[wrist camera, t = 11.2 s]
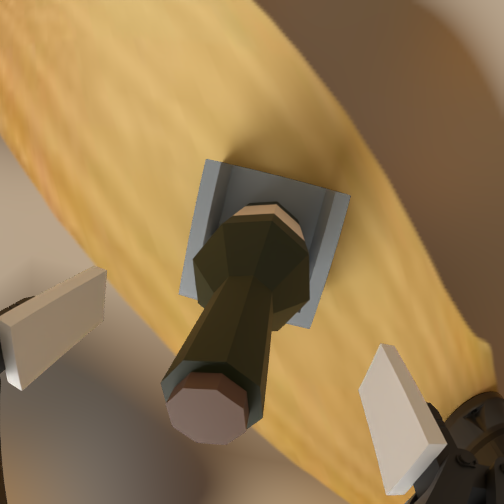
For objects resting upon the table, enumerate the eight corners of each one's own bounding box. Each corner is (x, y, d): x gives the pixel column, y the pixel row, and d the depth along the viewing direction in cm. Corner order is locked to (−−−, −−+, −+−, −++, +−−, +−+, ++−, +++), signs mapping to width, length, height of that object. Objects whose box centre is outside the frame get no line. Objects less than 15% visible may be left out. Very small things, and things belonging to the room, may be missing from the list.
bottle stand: (305, 300, 40) (309, 329, 32) (198, 272, 40) (178, 294, 33) (337, 191, 36) (350, 195, 29) (222, 162, 37) (206, 158, 29)
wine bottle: (242, 189, 37) (95, 239, 7) (311, 213, 36) (404, 346, 7) (221, 256, 39) (82, 439, 10) (287, 279, 38) (284, 509, 9)
